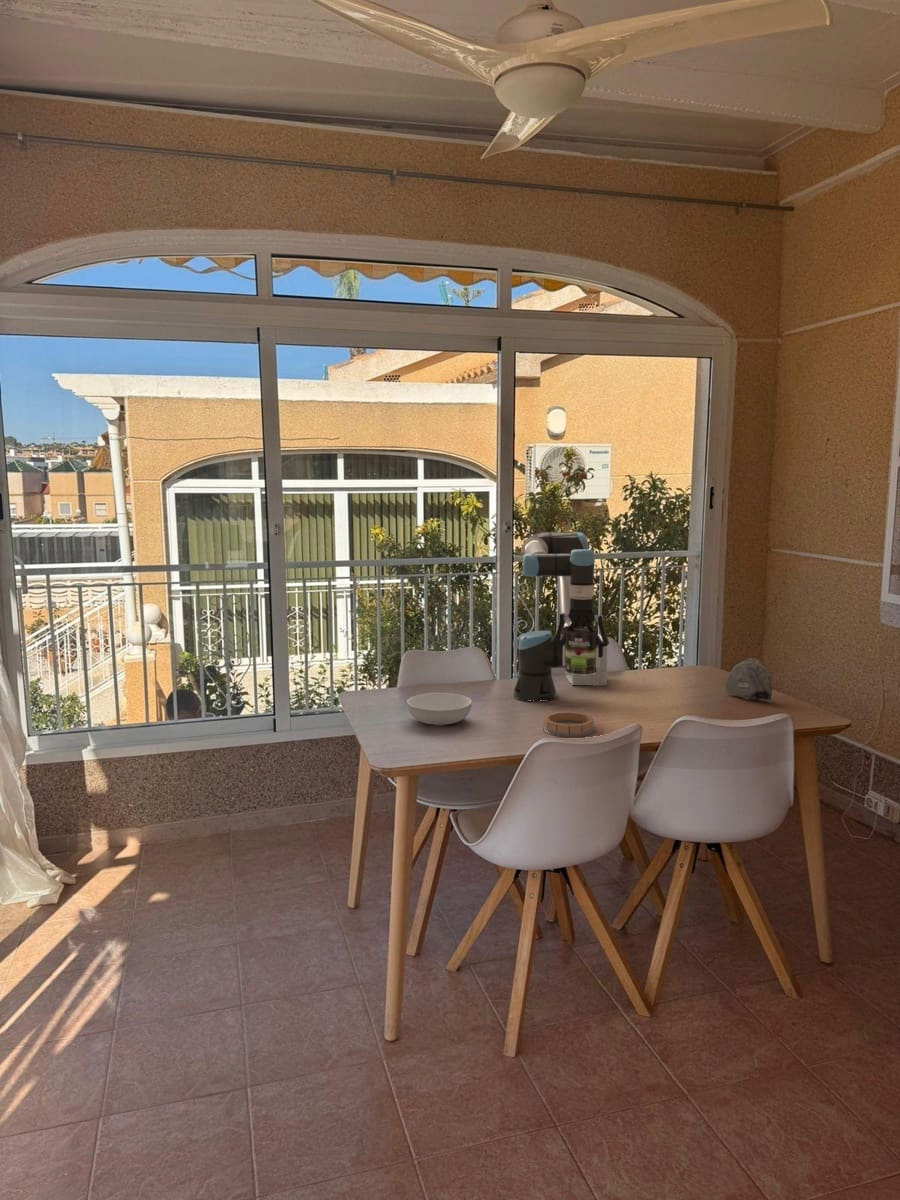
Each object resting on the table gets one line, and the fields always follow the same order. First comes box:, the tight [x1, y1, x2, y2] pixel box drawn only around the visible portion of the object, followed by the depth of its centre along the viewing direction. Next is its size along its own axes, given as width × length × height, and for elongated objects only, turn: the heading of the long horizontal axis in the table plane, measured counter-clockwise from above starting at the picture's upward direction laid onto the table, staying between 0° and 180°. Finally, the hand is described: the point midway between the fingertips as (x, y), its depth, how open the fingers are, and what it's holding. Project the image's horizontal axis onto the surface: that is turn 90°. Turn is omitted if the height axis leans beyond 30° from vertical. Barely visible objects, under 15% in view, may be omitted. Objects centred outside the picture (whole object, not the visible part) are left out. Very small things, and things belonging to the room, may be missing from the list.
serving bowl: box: [406, 692, 473, 726], centre depth 262 cm, size 21×21×7 cm
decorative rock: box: [724, 657, 773, 701], centre depth 284 cm, size 16×7×15 cm, turn 33°
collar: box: [542, 711, 596, 738], centre depth 252 cm, size 16×16×4 cm
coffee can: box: [564, 628, 599, 676], centre depth 262 cm, size 10×10×14 cm
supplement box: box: [565, 633, 608, 686], centre depth 311 cm, size 13×13×18 cm
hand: (581, 666), depth 263 cm, fingers closed on coffee can, 10 cm apart
